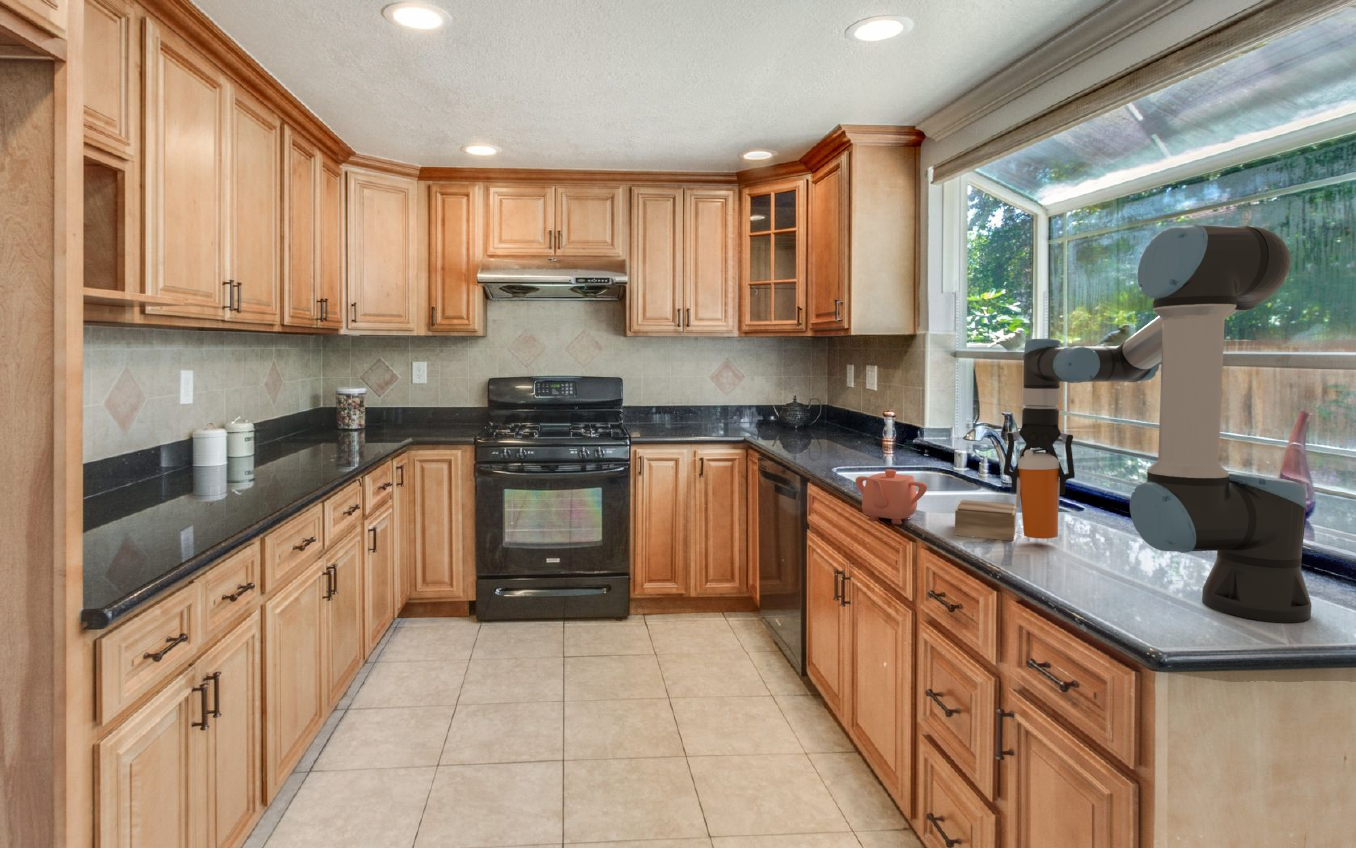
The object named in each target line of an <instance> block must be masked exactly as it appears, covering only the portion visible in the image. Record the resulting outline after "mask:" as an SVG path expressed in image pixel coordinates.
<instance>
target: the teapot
mask: <svg viewBox="0 0 1356 848" xmlns="http://www.w3.org/2000/svg"><path fill="white" fill-rule="evenodd" d="M864 481H865V484H864ZM855 485H856V487H857V489H858V490H859V492H860V493H861V494H862V501H861V510H862V513H863V515H864V516H869V518H867V521H869V522H879V519H880V518H884V519H891V524H893V525H902V524H903V521H902V520H904V519H908V518H911V516H913V514H915V512H916V511H917V508H918V500H920V499H921V498H922V497H923V496H924V495H925V493H926V492H927V490H928V485H927V484H926V483H925V482H921V481H915V477H914V476H913V475H909V474H908V475H907V474H900V473H899V474H897V470H896V469H890V468H889V469H888V468H887V469H885V470H884V472H881V473H875V474H873V475H870V476H862V475H861V476H857V477H855ZM917 487H918V491H917ZM904 521H905V520H904Z"/></svg>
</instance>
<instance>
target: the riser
mask: <svg viewBox="0 0 1356 848" xmlns="http://www.w3.org/2000/svg"><path fill="white" fill-rule="evenodd" d="M954 513H955V514H954V536H957V535H958V537H967V536H974V537H973V538H978V537H980V539H988V540H989V539H990V540H1001V541H1011V542H1012V541H1013V542H1014V541H1015V534H1016V524H1017V523H1016V521H1017V507H1016V504H1015V503H1010V502H1009V503H1007V502H994V501H983V500H982V501H981V500H969V499H968V500H967V499H962V500H960V501H959V503H958V505H957V507H956V509H955V512H954Z"/></svg>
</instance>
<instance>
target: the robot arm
mask: <svg viewBox="0 0 1356 848" xmlns="http://www.w3.org/2000/svg"><path fill="white" fill-rule="evenodd" d="M1291 261H1292V260H1291V254H1290V250H1289V247H1288V246H1287V244H1286V242H1285V241H1284V240H1283V239H1282V238H1281V237H1280V236H1279V235H1278V234H1276V233H1274V232H1273V231H1271V230H1269V229H1266V228H1264V227H1261V226H1260V227H1258V226H1251V225H1249V226H1248V225H1245V226H1232V225H1231V226H1230V225H1206V224H1205V225H1204V224H1203V225H1202V224H1201V225H1199V224H1193V225H1190V224H1189V225H1183V226H1181V225H1179V226H1172V227H1168V228H1165V229H1164V230H1162V231H1160V232H1158V234H1156V235H1155V236H1153V238H1152V239H1151V240H1150V242H1149V244H1147V245H1146V247H1145V248H1144V250H1143V252H1142V254H1141V256H1140V259H1139V262H1138V266H1137V275H1136V276H1137V277H1136V278H1137V284H1138V286H1139V288H1140V291H1141V292H1142V294H1144V295H1145V296H1146V297H1149V298H1150V299H1152V311H1153V312H1154V313H1155V314H1156V315H1157V317H1155V318H1154V319H1153V320H1151V321H1150V322H1149V323H1148V324H1146V325H1145V326H1144V327H1142V328H1140V329H1139V330H1138V331H1136V333H1134V334H1132V336H1130V337H1128V338H1127V339H1126V340H1125V341H1123V342H1122V343H1121V344H1119V345H1115V346H1114V345H1113V346H1112V345H1111V346H1108V345H1107V346H1106V345H1104V346H1103V345H1102V346H1083V345H1070V346H1062V342H1061V340H1060V339H1059V338H1054V337H1053V338H1029V339H1027V340H1026V341H1025V343H1024V353H1023V356H1022V357H1023V368H1022V369H1023V371H1022V372H1023V374H1022V375H1023V381H1022V383H1023V384H1022V385H1023V387H1022V405H1023V406H1024V407H1023V409H1022V411H1021V412H1022V413H1021V427H1020V429H1019V430H1017V431H1008V432H1007V434H1006V436H1007V442H1008V445H1007V449H1006V454H1005V455H1006V456H1005V462H1004V465H1003V466H1004V467H1003V476H1004V475H1005V476H1007V477H1009V478H1011V483H1010V484H1011V485H1010V487H1011V492H1012V493H1016V498H1015V499H1016V500H1015V505H1016V508H1021V496H1020V479H1019V469H1018V463H1017V462H1016V465H1015V467H1014V469H1013V470H1011V465H1012V459H1013V455H1014V454H1013V453H1014V448H1015V442H1016V441H1018V438H1019V437H1021V439H1022V440H1023V441H1024V442H1025V445H1024V447H1023V448H1024V450H1026V449H1030V450H1031V449H1037V448H1042V449H1047V448H1048V451H1049V453H1050V455H1052V456H1054V457H1056V458H1057V459H1059V456H1058V455H1057V452H1056V449H1054V448H1055V447H1054V444H1055V443H1056V442H1057V440H1058V439H1059V438H1061V442H1062V443H1064V447H1065V448H1064V449H1065V457H1066V464H1067V473H1065V472H1064V470H1063V467H1062V464H1061V461H1060V462H1059V469H1058V476H1059V481H1058V492H1057V510H1058V511H1059V510H1060V495H1061V496H1065V494H1066V482H1067V480H1072V479H1074V478H1075V476H1076V475H1075V467H1074V466H1075V465H1074V457H1073V450H1072V443H1073V440H1074V435H1073V434H1072V433H1065V432H1061V430H1060V428H1059V420H1060V417H1059V416H1060V409H1058V408H1057V407H1058V406H1059V405H1060V392H1061V391H1060V390H1061V385H1060V384H1061V382H1062V383H1069V384H1073V383H1074V384H1075V383H1076V384H1080V383H1095V382H1096V383H1099V382H1101V383H1107V382H1111V383H1112V382H1115V383H1118V382H1120V383H1121V382H1122V383H1124V382H1125V383H1126V382H1128V383H1138V382H1146V381H1149V380H1151V379H1153V378H1154V377H1156V373H1157V372H1159V369H1160V398H1159V421H1158V422H1159V423H1158V425H1159V426H1158V429H1159V430H1158V449H1157V451H1158V452H1157V453H1158V454H1157V457H1158V458H1157V461H1156V462H1155V463H1153V464H1152V465H1151V466H1150V467H1148V469H1147V472H1146V482H1142V483H1140V484H1139V485H1137V486H1136V487H1135V488H1134V491H1133V492H1132V493H1131V496H1130V498H1129V499H1130V500H1129V513H1130V517H1131V521H1132V523H1133V526H1134V528H1135V530H1136V531H1137V533H1138V534H1139V536H1140V537H1141V539H1142V540H1143V541H1144V542H1145V543H1146V544H1148V545H1149V547H1152V549H1153V548H1154V549H1156V550H1158V551H1161V552H1177V553H1181V554H1184V553H1185V554H1186V553H1190V552H1208V551H1209V552H1210V551H1211V552H1212V551H1214V552H1215V551H1216V552H1217V553H1216V560H1215V562H1214V564H1213V565H1212V568H1211V570H1210V572H1209V574H1208V576H1207V577H1206V580H1205V583H1204V584H1203V587H1202V595H1201V601H1202V602H1203V603H1204V604H1205V605H1206V606H1208V607H1210V608H1212V609H1214V610H1217V611H1220V612H1222V613H1224V614H1229V615H1232V616H1236V617H1241V618H1246V619H1250V620H1256V621H1257V620H1258V621H1263V622H1275V623H1300V622H1305V620H1306V621H1308V620H1310V618H1311V616H1312V602H1311V598H1310V596H1309V592H1308V589H1307V586H1306V583H1305V579H1304V576H1303V572H1302V559H1303V548H1304V537H1305V527H1306V526H1305V525H1306V516H1307V510H1308V506H1307V502H1306V501H1307V492H1306V489H1305V487H1304V486H1303V485H1302V484H1301V483H1299V482H1296V481H1295V480H1290V479H1284V478H1283V479H1282V478H1278V477H1273V476H1268V475H1259V474H1256V473H1254V474H1253V473H1248V472H1240V471H1231V470H1230V471H1227V470H1226V469H1225V468H1224V467H1223V466H1222V465H1221V463H1220V445H1221V443H1220V441H1221V417H1222V416H1221V415H1222V414H1221V413H1222V394H1223V393H1222V390H1223V388H1222V387H1223V371H1224V369H1223V367H1224V366H1223V365H1224V344H1225V343H1224V342H1225V341H1224V340H1225V321H1226V319H1228V318H1230V317H1231V316H1232V315H1234V314H1235V313H1237V312H1247V311H1251V310H1252V309H1254V308H1256V307H1257V306H1259V305H1260V304H1261V303H1264V302H1265V301H1267V300H1268V299H1269V298H1271V297H1272V296H1273V295H1274V294H1275V293H1276V292H1277V291H1279V289H1280V288H1281V287H1282V286H1283V284H1284V283H1285V281H1286V279H1287V278H1288V275H1289V274H1290V270H1291V269H1290V268H1291V263H1292V262H1291ZM1160 364H1161V366H1160ZM1160 367H1161V368H1160ZM1024 450H1023V451H1024ZM1022 456H1023V455H1022V454H1021V456H1020V455H1019V457H1020V458H1021V457H1022Z"/></svg>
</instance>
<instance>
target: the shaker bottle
mask: <svg viewBox="0 0 1356 848" xmlns="http://www.w3.org/2000/svg"><path fill="white" fill-rule="evenodd" d="M1054 449H1055V450H1056V447H1054ZM1023 450H1024V447H1022V448H1021V449H1020V450H1019V457H1018V459H1017V460H1016V464H1017V463H1018V469H1019V474H1018V477H1019V479H1020V508H1021V516H1022V517H1021V519H1022V531H1023V535H1024V536H1023V537H1025V538H1030V539H1043V540H1045V539H1054V538H1057V537H1058V535H1059V510H1057V492H1058V481H1059V479H1060V478H1059V476H1058V469H1059V462H1060V463H1061V461H1060V458H1058V459H1057V458H1056V457H1054V456H1052V455H1050V453H1049V451H1048V448H1047V449H1042V448H1031V449H1026V450H1024V451H1023ZM1021 454H1022V455H1023V456H1022V457H1021V458H1020V456H1021Z"/></svg>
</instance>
